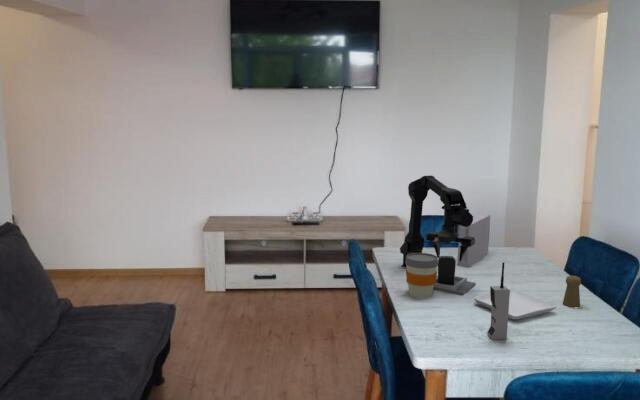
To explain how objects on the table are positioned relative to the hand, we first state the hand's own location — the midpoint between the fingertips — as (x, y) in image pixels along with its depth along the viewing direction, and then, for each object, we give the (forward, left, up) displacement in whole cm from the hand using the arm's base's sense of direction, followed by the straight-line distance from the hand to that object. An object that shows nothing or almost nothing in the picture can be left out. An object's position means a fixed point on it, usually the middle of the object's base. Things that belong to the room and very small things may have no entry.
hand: (449, 259), depth 229 cm
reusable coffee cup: (-6, -15, -12) cm, 20 cm away
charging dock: (0, 0, -11) cm, 11 cm away
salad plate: (+29, -11, -12) cm, 33 cm away
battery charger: (-1, 0, -10) cm, 11 cm away
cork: (+46, +5, -12) cm, 48 cm away
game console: (-4, +44, -12) cm, 45 cm away
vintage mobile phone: (+31, -40, -12) cm, 52 cm away
